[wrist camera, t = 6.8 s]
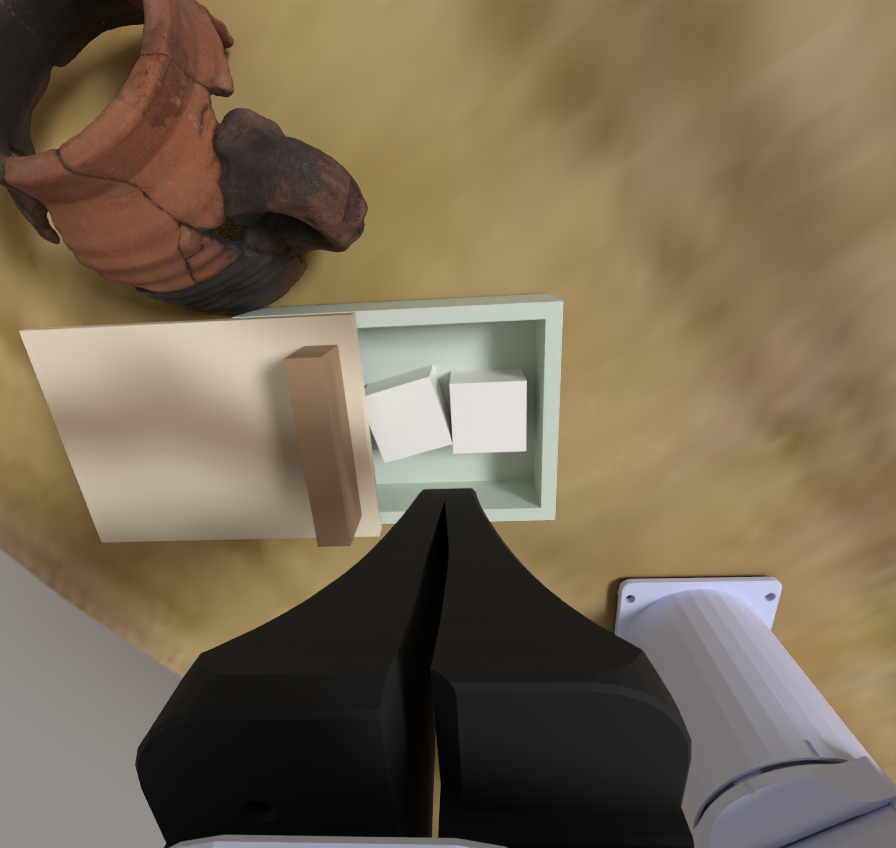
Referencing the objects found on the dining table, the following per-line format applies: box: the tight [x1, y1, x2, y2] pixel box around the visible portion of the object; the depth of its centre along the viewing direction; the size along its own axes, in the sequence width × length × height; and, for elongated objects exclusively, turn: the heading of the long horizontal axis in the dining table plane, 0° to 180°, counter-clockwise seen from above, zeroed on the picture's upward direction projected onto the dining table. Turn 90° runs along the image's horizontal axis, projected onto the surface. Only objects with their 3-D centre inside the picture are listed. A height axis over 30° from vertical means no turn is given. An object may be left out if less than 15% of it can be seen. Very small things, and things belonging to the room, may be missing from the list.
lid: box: [19, 312, 382, 547], centre depth 17 cm, size 9×12×3 cm
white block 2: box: [449, 368, 527, 454], centre depth 19 cm, size 3×3×2 cm
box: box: [232, 293, 563, 524], centre depth 19 cm, size 9×12×3 cm
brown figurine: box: [0, 0, 367, 314], centre depth 15 cm, size 12×10×8 cm
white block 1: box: [365, 364, 453, 463], centre depth 19 cm, size 3×3×2 cm
